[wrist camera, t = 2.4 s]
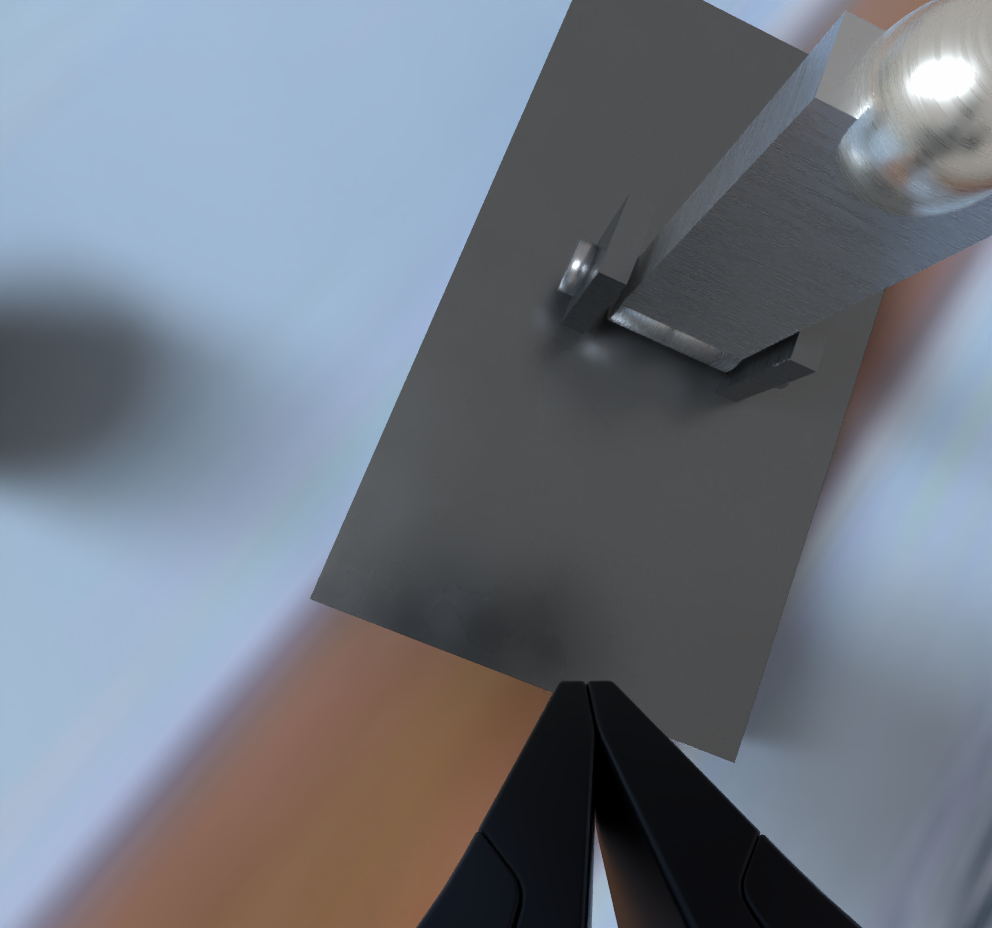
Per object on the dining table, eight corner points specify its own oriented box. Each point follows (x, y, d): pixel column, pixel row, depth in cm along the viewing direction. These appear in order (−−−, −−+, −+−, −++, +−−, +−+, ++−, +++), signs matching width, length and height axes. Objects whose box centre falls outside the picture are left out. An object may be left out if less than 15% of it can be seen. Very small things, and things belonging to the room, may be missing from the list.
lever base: (690, 729, 21) (822, 829, 14) (325, 587, 20) (277, 622, 13) (875, 168, 25) (1054, 31, 18) (573, 19, 23) (639, -192, 16)
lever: (708, 392, 19) (1152, 196, 7) (595, 342, 18) (881, 56, 7) (737, 310, 19) (1199, 6, 8) (627, 260, 19) (945, -134, 8)
